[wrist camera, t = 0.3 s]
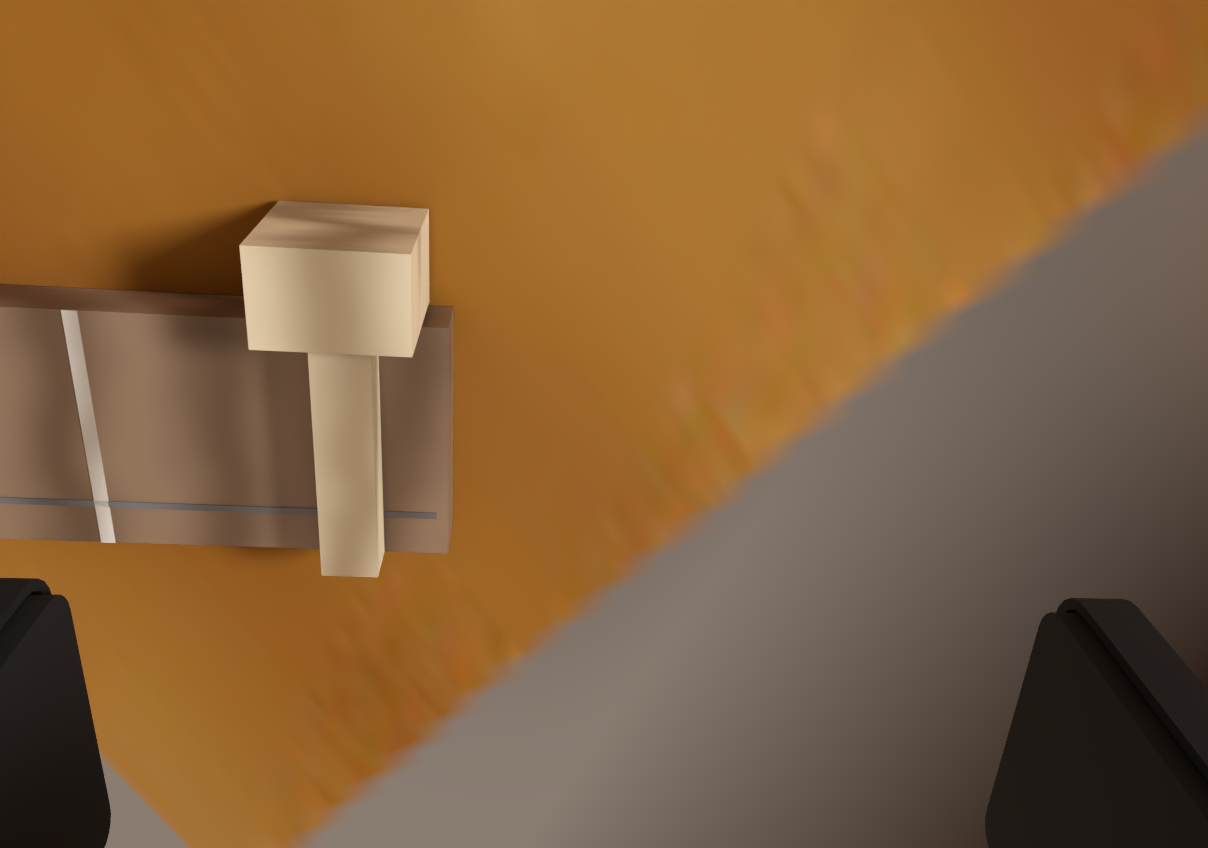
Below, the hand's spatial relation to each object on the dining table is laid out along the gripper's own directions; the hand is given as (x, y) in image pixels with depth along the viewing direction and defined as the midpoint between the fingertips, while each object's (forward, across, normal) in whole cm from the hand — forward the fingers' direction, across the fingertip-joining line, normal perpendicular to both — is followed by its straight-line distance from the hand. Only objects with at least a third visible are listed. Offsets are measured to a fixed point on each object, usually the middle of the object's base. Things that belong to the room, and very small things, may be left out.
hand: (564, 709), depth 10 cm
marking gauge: (+35, +8, +12) cm, 38 cm away
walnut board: (+35, +14, +14) cm, 40 cm away
